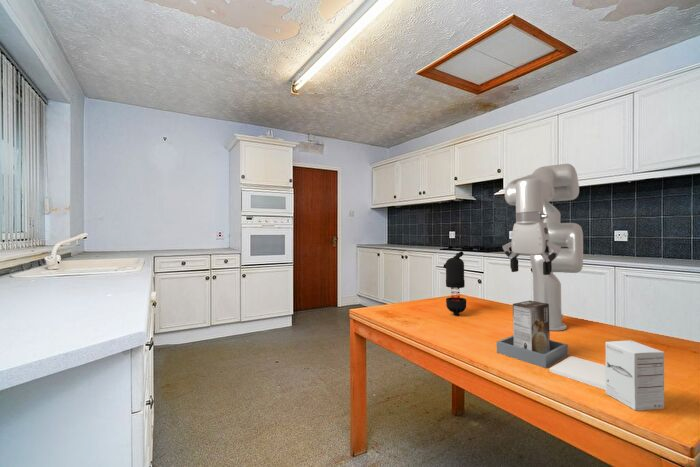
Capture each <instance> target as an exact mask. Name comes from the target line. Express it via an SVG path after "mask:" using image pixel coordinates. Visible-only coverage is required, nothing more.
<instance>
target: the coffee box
mask: <svg viewBox="0 0 700 467" xmlns="http://www.w3.org/2000/svg"><path fill="white" fill-rule="evenodd" d="M512 326H513V331H512V332H513V335H514V346H517V347H520V348H524V349H527V350H531V351H534V352H538V353H541V354H545V353H547V352H549V351H550V340H551V339H550V336H551V335H550V330H549V304H547V303H541V302H536V301H533V300H526V301H521V302H516V303H512Z"/></svg>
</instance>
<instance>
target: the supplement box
mask: <svg viewBox="0 0 700 467" xmlns="http://www.w3.org/2000/svg"><path fill="white" fill-rule="evenodd" d="M605 365H606V390H605V394H606V395H607V396H610V397H612V398H613V399H615V400H616V401H618V402H620V403H622V404H623V405H626V406H627V407H629V408H630V409H632V410H634V411H648V410H650V411H651V410H662V409H665V351H662V350H660V349H657V348H653V347H651V346H648V345H646V344H643V343H640V342H636V341H634V340H615V341H614V340H613V341H605Z"/></svg>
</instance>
